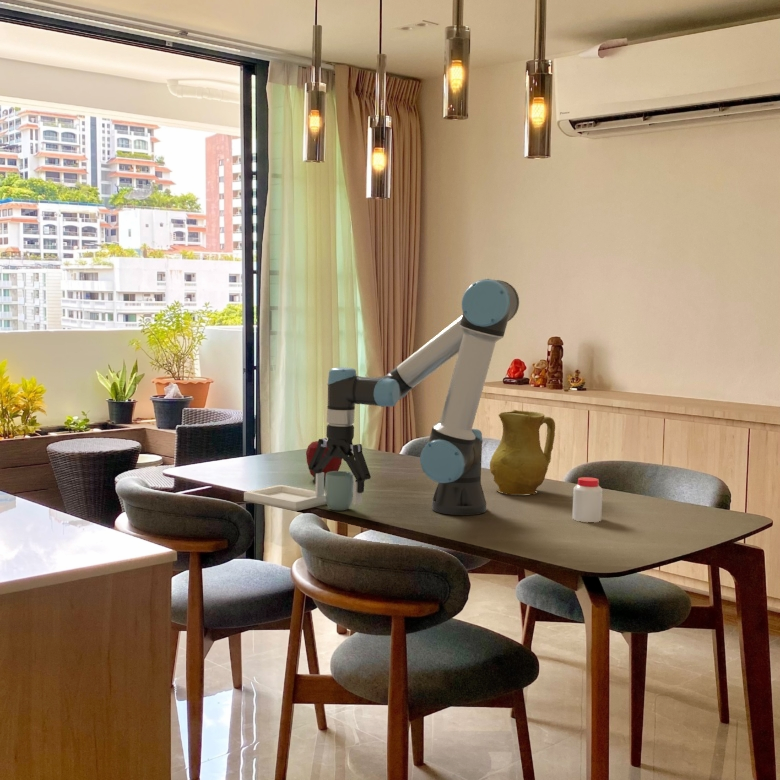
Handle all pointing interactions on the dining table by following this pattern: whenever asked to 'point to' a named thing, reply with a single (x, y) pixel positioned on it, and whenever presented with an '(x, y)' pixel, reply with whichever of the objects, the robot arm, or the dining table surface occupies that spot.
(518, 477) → the pitcher
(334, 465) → the apple
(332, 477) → the cup
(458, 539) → the dining table surface
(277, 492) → the tray
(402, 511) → the dining table surface
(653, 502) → the dining table surface
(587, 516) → the pill bottle
